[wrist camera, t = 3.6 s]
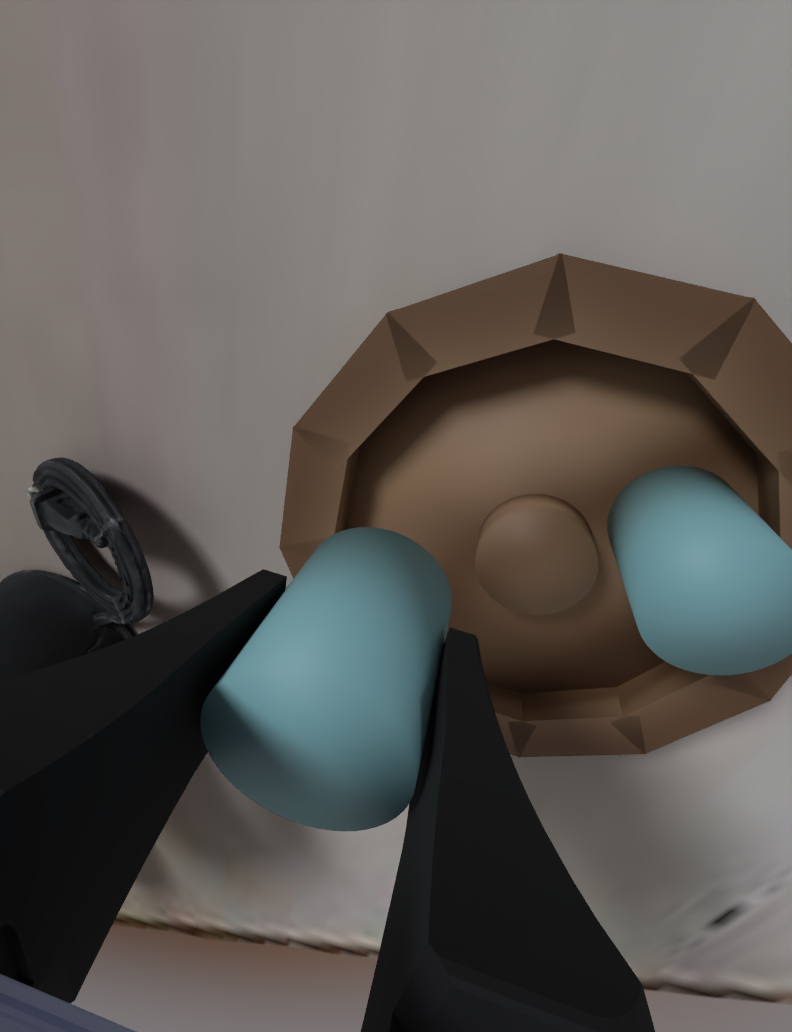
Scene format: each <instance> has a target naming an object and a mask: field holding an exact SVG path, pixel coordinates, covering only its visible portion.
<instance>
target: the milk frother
mask: <svg viewBox="0 0 792 1032" xmlns="http://www.w3.org/2000/svg"><path fill="white" fill-rule="evenodd" d="M33 481H34V484H33V486H32V487H31V488H28V489H26V495H27V496H29V497H30V498H31V500H30V504H31V507H32V510H33V513H34V516H35V519H36V521H37V524H38V526H39V527H40V529H42V530H44V533H45V535H46V537H47V539H48V541H49V542H50V544H51V546H52V547H53V549H54V550H55V552H56V553H57V555H58V556H59V558H60V559H61V561H62V562H63V564H64V565H65V567H66V568H67V569H68V570H69V571H70V572H71V574H72V575H73V577H74V578H75V579H76V580H77V581H78V582H79V583H80V584H81V585H80V584H77V583H75V582H73V581H72V580H69V579H68V578H66V577H63V576H61V575H57V574H55V573H50V572H46V571H41V570H23V571H20V572H17V573H13V574H11V575H9V576H7V577H6V578H5V579H3V580H2V581H1V582H0V680H2V679H6V678H10V677H13V676H17V675H21V674H24V673H28V672H32V671H35V670H39V669H42V668H45V667H49V666H52V665H55V664H58V663H61V662H64V661H67V660H70V659H73V658H76V657H80V656H83V655H86V654H89V653H92V652H95V651H97V650H100V649H103V648H106V647H108V646H111V645H113V644H116V643H118V642H121V641H124V640H126V639H129V638H131V637H132V635H131V633H130V631H129V629H128V628H127V627H126V626H125V624H130V623H136V622H138V621H140V620H142V619H143V618H145V617H146V616H147V615H149V613H150V612H151V609H152V605H153V598H154V595H153V586H152V581H151V576H150V572H149V569H148V566H147V563H146V561H145V558H144V555H143V553H142V550H141V548H140V545H139V543H138V541H137V539H136V537H135V535H134V533H133V531H132V529H131V527H130V525H129V524H128V522H127V520H126V519H125V517H124V515H123V513H122V512H121V510H120V509H119V507H118V506H117V504H116V503H115V501H114V500H113V498H112V497H111V495H110V494H109V492H108V491H107V490H106V489H105V488H104V487H103V486H102V484H101V483H100V482H99V481H98V480H97V479H96V478H95V477H94V476H93V475H92V474H91V473H90V472H89V471H88V470H87V469H85V468H84V467H83V466H82V465H80V464H79V463H77V462H74V461H73V460H70V459H66V458H54V459H50V460H47V461H45V462H43V463H41V464H40V465H39V466H38V468H37V469H36V471H35V472H34V474H33ZM72 536H74V537H76V538H77V539H81V540H84V541H85V540H90V541H91V542H93V543H95V544H96V546H97V547H99V548H104V547H107V546H108V548H109V549H110V551H111V553H112V556H113V558H114V560H115V564H116V566H117V569H118V572H119V574H120V578H121V581H122V582H123V590H122V591H120V590H118V589H117V588H115V587H113V586H111V585H110V584H109V583H108V582H107V581H106V580H105V579H104V578H103V577H102V576H101V575H100V574H99V573H98V572H97V571H96V570H95V568H94V567H93V566H92V565H91V564H90V563H89V562H88V560H87V559H86V557H85V556H84V554H83V553H82V551H81V550H80V548H79V547H78V545H77V544H76V542H75V541H74V539H73V537H72Z"/></svg>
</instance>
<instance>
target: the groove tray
mask: <svg viewBox="0 0 792 1032" xmlns="http://www.w3.org/2000/svg"><path fill="white" fill-rule="evenodd" d="M671 466H691V467H697V468H701V469H704V470H707V471H710V472H712V473H714V474H716V475H718V476H719V477H721V478H722V479H724V480H725V481H726V482H727V483H728V484H729V485H730V486H731V487H732V488H733V489H734V490H735V491H736V492H737V493H738V494H739V495H740V497H741V498H742V499H743V500H744V501H745V502H746V503H747V504H748V505H749V506H750V507H751V508H752V509H753V510H754V511H755V512H756V513H757V514H758V515H759V516H760V517H761V518H762V519H763V520H764V521H765V522H766V524H767V525H768V526H769V527H770V528H771V529H772V530H773V531H774V532H775V533H776V534H777V535H778V536H779V537H780V538H781V539H782V540H783V541H784V542H785V543H786V544H787V545H788V546H789V547H790V548H791V549H792V343H791V342H790V341H789V340H788V338H787V337H786V336H785V335H784V334H783V332H782V331H781V330H780V329H779V328H778V326H777V325H776V324H775V323H774V322H773V320H772V319H771V318H770V317H769V316H768V314H767V313H766V312H765V311H764V310H763V308H762V307H761V306H760V305H759V304H758V302H757V301H756V299H754V298H751V297H744V296H740V295H736V294H731V293H727V292H723V291H718V290H714V289H710V288H706V287H701V286H697V285H693V284H688V283H684V282H680V281H675V280H671V279H667V278H663V277H658V276H654V275H650V274H645V273H641V272H637V271H633V270H628V269H624V268H620V267H615V266H611V265H607V264H603V263H598V262H594V261H590V260H585V259H581V258H577V257H573V256H568V255H564V254H560V253H559V254H557V255H556V256H553V257H550V258H547V259H544V260H541V261H538V262H535V263H532V264H530V265H527V266H524V267H521V268H518V269H515V270H512V271H509V272H506V273H503V274H500V275H497V276H494V277H492V278H489V279H486V280H483V281H480V282H477V283H474V284H471V285H468V286H465V287H462V288H459V289H456V290H453V291H451V292H448V293H445V294H442V295H439V296H436V297H433V298H430V299H427V300H424V301H421V302H418V303H415V304H413V305H410V306H407V307H404V308H401V309H396V310H393V311H390V312H388V313H386V315H385V316H384V317H383V319H382V320H381V321H380V322H379V324H378V325H377V326H376V327H375V328H374V330H373V331H372V332H371V333H370V335H369V336H368V337H367V338H366V339H365V341H364V342H363V343H362V344H361V346H360V347H359V348H358V349H357V350H356V352H355V353H354V354H353V355H352V357H351V358H350V359H349V360H348V361H347V363H346V364H345V365H344V366H343V368H342V369H341V370H340V371H339V372H338V374H337V375H336V376H335V377H334V379H333V380H332V381H331V382H330V383H329V385H328V386H327V387H326V388H325V390H324V391H323V392H322V393H321V394H320V396H319V397H318V398H317V399H316V401H315V402H314V403H313V404H312V405H311V407H310V408H309V409H308V410H307V412H306V413H305V414H304V415H303V416H302V418H301V419H300V420H299V421H298V423H297V424H296V425H295V426H294V427H293V433H292V442H291V451H290V460H289V469H288V478H287V487H286V496H285V505H284V514H283V523H282V532H281V540H280V550H281V552H282V554H283V556H284V558H285V561H286V563H287V565H288V567H289V570H290V572H291V574H292V576H293V579H294V578H295V576H296V575H297V574H298V572H299V571H300V569H301V568H302V567H303V565H304V564H305V563H306V561H307V560H308V559H309V557H310V556H311V555H312V553H313V552H314V550H315V549H316V548H317V547H318V546H319V545H320V544H321V543H322V542H323V541H324V540H325V539H327V538H329V537H330V536H332V535H333V534H336V533H338V532H340V531H343V530H347V529H351V528H358V527H374V528H382V529H386V530H391V531H394V532H396V533H399V534H402V535H404V536H406V537H408V538H410V539H412V540H413V541H415V542H416V543H418V544H420V545H421V546H422V547H423V548H425V549H426V550H427V551H428V552H429V553H430V554H431V555H432V556H433V557H434V558H435V559H436V561H437V562H438V563H439V564H440V566H441V567H442V569H443V571H444V573H445V574H446V577H447V579H448V582H449V584H450V588H451V593H452V610H451V615H450V620H449V625H448V630H447V634H448V631H449V628H450V627H451V628H454V629H457V630H460V631H464V632H467V633H470V634H473V635H476V637H477V639H478V641H479V649H480V655H481V660H482V665H483V670H484V674H485V678H486V682H487V686H488V690H489V694H490V697H491V700H492V704H493V707H494V710H495V714H496V717H497V720H498V723H499V726H500V729H501V732H502V735H503V737H504V740H505V743H506V745H507V748H508V751H509V753H510V754H512V755H515V756H518V757H538V756H579V755H620V754H646V753H648V752H650V751H653V750H655V749H657V748H660V747H662V746H664V745H667V744H669V743H672V742H674V741H676V740H679V739H681V738H683V737H686V736H688V735H690V734H693V733H695V732H697V731H700V730H702V729H704V728H707V727H709V726H711V725H714V724H716V723H718V722H721V721H723V720H725V719H728V718H730V717H732V716H735V715H737V714H739V713H742V712H744V711H746V710H749V709H751V708H753V707H756V706H758V705H760V704H763V703H765V702H767V701H770V700H771V699H772V697H773V696H774V695H775V694H776V693H777V691H778V690H779V689H780V688H781V687H782V685H783V684H784V683H785V682H786V680H787V679H788V678H789V677H790V676H791V674H792V654H791V655H789V656H788V657H786V658H785V659H783V660H781V661H779V662H777V663H775V664H773V665H770V666H768V667H765V668H762V669H759V670H756V671H752V672H747V673H743V674H735V675H706V674H699V673H694V672H690V671H686V670H683V669H681V668H678V667H675V666H673V665H671V664H669V663H667V662H666V661H664V660H663V659H661V658H660V657H658V656H657V655H656V654H655V653H654V652H653V651H652V650H651V649H650V648H649V647H648V646H647V645H646V643H645V642H644V640H643V639H642V637H641V635H640V632H639V630H638V627H637V624H636V621H635V618H634V615H633V612H632V608H631V605H630V602H629V599H628V596H627V593H626V590H625V587H624V584H623V581H622V577H621V574H620V571H619V568H618V565H617V562H616V559H615V556H614V553H613V550H612V547H611V543H610V540H609V537H608V533H607V519H608V514H609V511H610V508H611V506H612V504H613V502H614V500H615V499H616V497H617V496H618V495H619V493H620V492H621V491H622V490H623V489H624V488H625V487H626V486H627V485H628V484H630V483H631V482H632V481H634V480H635V479H637V478H638V477H640V476H642V475H644V474H646V473H648V472H651V471H654V470H657V469H661V468H665V467H671ZM447 634H446V637H447ZM445 640H446V639H445Z"/></svg>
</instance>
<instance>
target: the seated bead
mask: <svg viewBox="0 0 792 1032" xmlns="http://www.w3.org/2000/svg"><path fill="white" fill-rule="evenodd" d="M607 533H608V537H609V540H610V543H611V547H612V550H613V553H614V556H615V559H616V562H617V565H618V568H619V571H620V574H621V577H622V581H623V584H624V587H625V590H626V593H627V596H628V599H629V602H630V605H631V608H632V612H633V615H634V618H635V621H636V624H637V627H638V630H639V632H640V635H641V637H642V639H643V640H644V642H645V643H646V645H647V646H648V647H649V648H650V649H651V650H652V651H653V652H654V653H655V654H656V655H657V656H658V657H660V658H661V659H663V660H664V661H666V662H667V663H669V664H671V665H673V666H675V667H678V668H681V669H683V670H686V671H690V672H694V673H699V674H706V675H735V674H743V673H747V672H752V671H756V670H759V669H762V668H765V667H768V666H770V665H773V664H775V663H777V662H779V661H781V660H783V659H785V658H786V657H788V656H789V655H791V654H792V549H791V548H790V547H789V546H788V545H787V544H786V543H785V542H784V541H783V540H782V539H781V538H780V537H779V536H778V535H777V534H776V533H775V532H774V531H773V530H772V529H771V528H770V527H769V526H768V525H767V524H766V522H765V521H764V520H763V519H762V518H761V517H760V516H759V515H758V514H757V513H756V512H755V511H754V510H753V509H752V508H751V507H750V506H749V505H748V504H747V503H746V502H745V501H744V500H743V499H742V498H741V497H740V495H739V494H738V493H737V492H736V491H735V490H734V489H733V488H732V487H731V486H730V485H729V484H728V483H727V482H726V481H725V480H724V479H722V478H721V477H719V476H718V475H716V474H714V473H712V472H710V471H707V470H704V469H701V468H697V467H691V466H671V467H665V468H661V469H657V470H654V471H651V472H648V473H646V474H644V475H642V476H640V477H638V478H637V479H635V480H634V481H632V482H631V483H630V484H628V485H627V486H626V487H625V488H624V489H623V490H622V491H621V492H620V493H619V495H618V496H617V497H616V499H615V500H614V502H613V504H612V506H611V508H610V511H609V514H608V519H607Z"/></svg>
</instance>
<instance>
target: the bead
mask: <svg viewBox="0 0 792 1032" xmlns="http://www.w3.org/2000/svg"><path fill="white" fill-rule="evenodd" d="M451 610H452V593H451V588H450V584H449V582H448V579H447V577H446V574H445V573H444V571H443V569H442V567H441V566H440V564H439V563H438V562H437V561H436V559H435V558H434V557H433V556H432V555H431V554H430V553H429V552H428V551H427V550H426V549H425V548H423V547H422V546H421V545H420V544H418V543H416V542H415V541H413V540H412V539H410V538H408V537H406V536H404V535H402V534H399V533H396V532H394V531H391V530H386V529H382V528H374V527H358V528H351V529H347V530H343V531H340V532H338V533H336V534H333V535H332V536H330V537H329V538H327V539H325V540H324V541H323V542H322V543H321V544H320V545H319V546H318V547H317V548H316V549H315V550H314V552H313V553H312V555H311V556H310V557H309V559H308V560H307V561H306V563H305V564H304V565H303V567H302V568H301V569H300V571H299V572H298V574H297V575H296V576H295V578H294V579H293V580H292V582H291V583H290V584H289V586H288V587H287V588H286V590H285V591H284V593H283V594H282V595H281V597H280V598H279V599H278V601H277V602H276V603H275V605H274V606H273V608H272V609H271V610H270V612H269V613H268V614H267V616H266V617H265V618H264V620H263V621H262V622H261V624H260V625H259V627H258V628H257V629H256V631H255V632H254V633H253V635H252V636H251V637H250V639H249V640H248V641H247V643H246V644H245V646H244V647H243V648H242V650H241V651H240V652H239V654H238V655H237V656H236V658H235V659H234V661H233V662H232V663H231V665H230V666H229V667H228V669H227V670H226V671H225V673H224V674H223V675H222V677H221V678H220V680H219V681H218V682H217V684H216V685H215V686H214V688H213V689H212V690H211V692H210V693H209V695H208V696H207V698H206V700H205V702H204V704H203V708H202V711H201V719H200V723H201V732H202V737H203V741H204V743H205V746H206V748H207V751H208V752H209V754H210V756H211V758H212V760H213V761H214V763H215V764H216V766H217V767H218V768H219V770H220V771H221V772H222V773H223V775H224V776H225V777H226V778H227V779H228V780H229V781H230V782H231V783H232V784H233V785H234V786H235V787H236V788H237V789H238V790H240V791H241V792H242V793H243V794H245V795H246V796H247V797H248V798H250V799H251V800H253V801H254V802H256V803H257V804H259V805H260V806H262V807H264V808H266V809H267V810H269V811H271V812H273V813H275V814H277V815H279V816H281V817H284V818H286V819H289V820H291V821H294V822H297V823H300V824H303V825H306V826H310V827H315V828H319V829H325V830H333V831H358V830H366V829H370V828H374V827H378V826H380V825H383V824H385V823H388V822H389V821H391V820H393V819H394V818H396V817H397V816H398V815H399V814H400V813H402V812H403V811H404V810H405V808H406V807H407V806H408V804H409V803H410V801H411V799H412V797H413V794H414V790H415V786H416V782H417V777H418V772H419V767H420V762H421V757H422V752H423V747H424V742H425V737H426V733H427V728H428V723H429V718H430V713H431V708H432V703H433V698H434V693H435V688H436V683H437V676H438V671H439V666H440V662H441V657H442V652H443V647H444V643H445V639H446V634H447V630H448V625H449V620H450V615H451Z"/></svg>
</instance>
